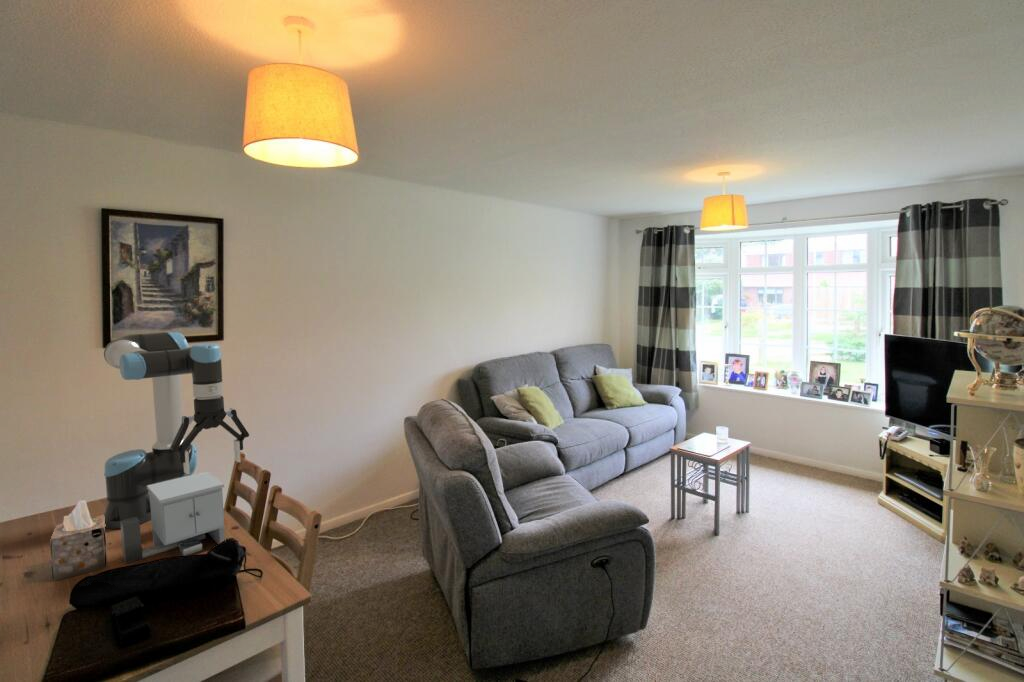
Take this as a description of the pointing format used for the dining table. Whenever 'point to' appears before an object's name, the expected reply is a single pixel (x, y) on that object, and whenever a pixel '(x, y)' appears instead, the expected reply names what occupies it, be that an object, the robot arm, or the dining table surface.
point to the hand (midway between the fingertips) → (213, 466)
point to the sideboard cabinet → (187, 508)
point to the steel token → (190, 546)
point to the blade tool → (133, 541)
